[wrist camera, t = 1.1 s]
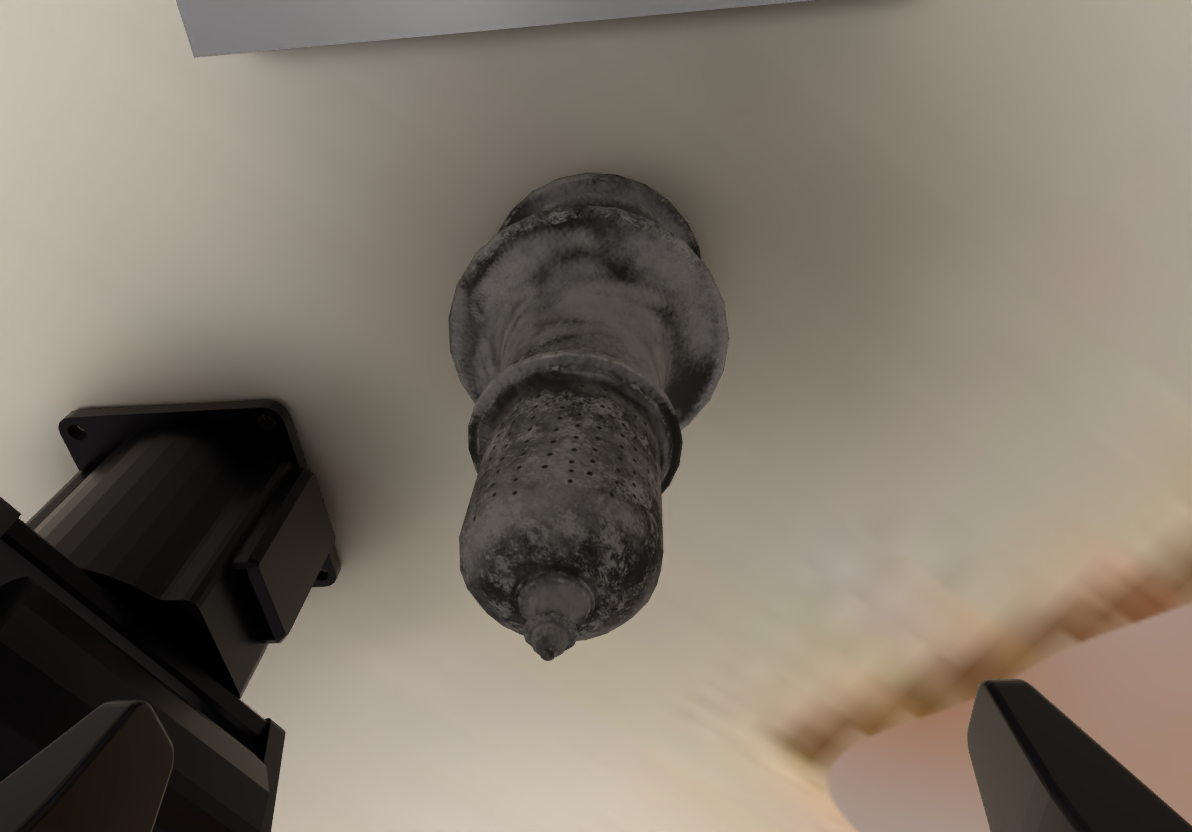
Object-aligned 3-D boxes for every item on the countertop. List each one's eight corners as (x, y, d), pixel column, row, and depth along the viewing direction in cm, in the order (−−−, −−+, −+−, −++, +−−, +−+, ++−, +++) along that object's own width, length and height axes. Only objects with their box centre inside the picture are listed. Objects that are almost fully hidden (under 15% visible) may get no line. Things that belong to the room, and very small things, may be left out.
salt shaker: (459, 167, 19) (238, 466, 8) (715, 151, 18) (813, 446, 8) (495, 388, 22) (363, 805, 11) (714, 379, 21) (783, 805, 11)
